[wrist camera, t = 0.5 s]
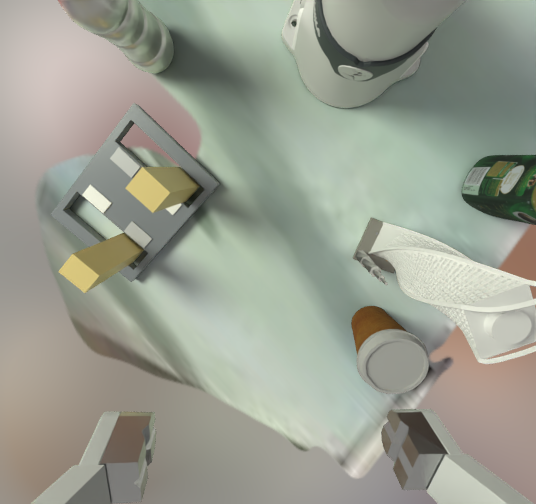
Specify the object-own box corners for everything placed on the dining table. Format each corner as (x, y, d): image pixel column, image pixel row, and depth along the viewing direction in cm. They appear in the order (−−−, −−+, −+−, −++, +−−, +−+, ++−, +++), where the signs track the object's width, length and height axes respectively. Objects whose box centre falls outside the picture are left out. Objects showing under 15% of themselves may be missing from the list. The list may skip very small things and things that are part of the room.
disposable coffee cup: (339, 300, 51) (356, 340, 39) (397, 293, 50) (431, 331, 38) (344, 350, 53) (362, 400, 42) (399, 343, 52) (433, 393, 41)
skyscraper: (375, 208, 46) (504, 265, 19) (423, 226, 47) (615, 306, 20) (352, 258, 49) (440, 370, 22) (398, 274, 49) (541, 405, 22)
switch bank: (57, 213, 49) (49, 214, 47) (138, 105, 44) (133, 102, 42) (135, 278, 51) (130, 282, 50) (220, 183, 46) (218, 184, 45)
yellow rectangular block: (167, 182, 46) (125, 188, 34) (180, 167, 46) (142, 167, 33) (187, 200, 47) (152, 213, 35) (200, 185, 46) (170, 192, 34)
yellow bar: (114, 245, 50) (58, 271, 37) (126, 231, 49) (72, 253, 36) (133, 261, 50) (84, 293, 38) (145, 248, 50) (99, 275, 37)
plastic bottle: (142, 83, 43) (30, 16, 24) (124, 30, 41) (-12, -88, 22) (184, 69, 42) (104, -12, 23) (168, 15, 41) (66, -122, 21)
